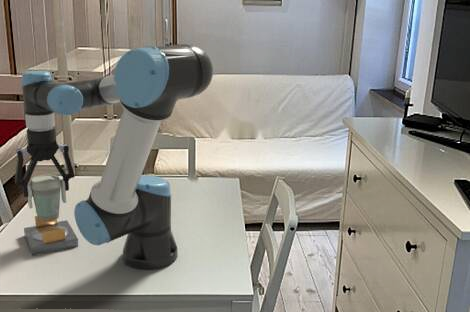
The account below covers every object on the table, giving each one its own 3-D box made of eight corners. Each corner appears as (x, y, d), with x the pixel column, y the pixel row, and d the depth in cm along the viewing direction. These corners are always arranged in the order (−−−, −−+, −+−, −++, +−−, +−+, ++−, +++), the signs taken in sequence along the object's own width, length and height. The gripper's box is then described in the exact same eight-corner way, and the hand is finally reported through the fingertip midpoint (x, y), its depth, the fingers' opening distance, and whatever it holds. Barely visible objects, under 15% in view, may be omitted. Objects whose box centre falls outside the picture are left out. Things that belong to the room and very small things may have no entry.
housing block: (78, 246, 150) (77, 227, 148) (32, 255, 144) (30, 236, 142) (67, 227, 162) (66, 209, 160) (24, 235, 156) (22, 217, 154)
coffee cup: (54, 225, 146) (51, 185, 142) (26, 221, 147) (22, 182, 144) (69, 213, 154) (66, 175, 150) (43, 210, 155) (39, 172, 152)
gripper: (77, 121, 151) (81, 193, 158) (-3, 128, 141) (5, 205, 147) (83, 127, 145) (88, 202, 151) (0, 135, 134) (9, 215, 141)
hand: (47, 203), depth 149 cm, fingers closed on coffee cup, 8 cm apart
